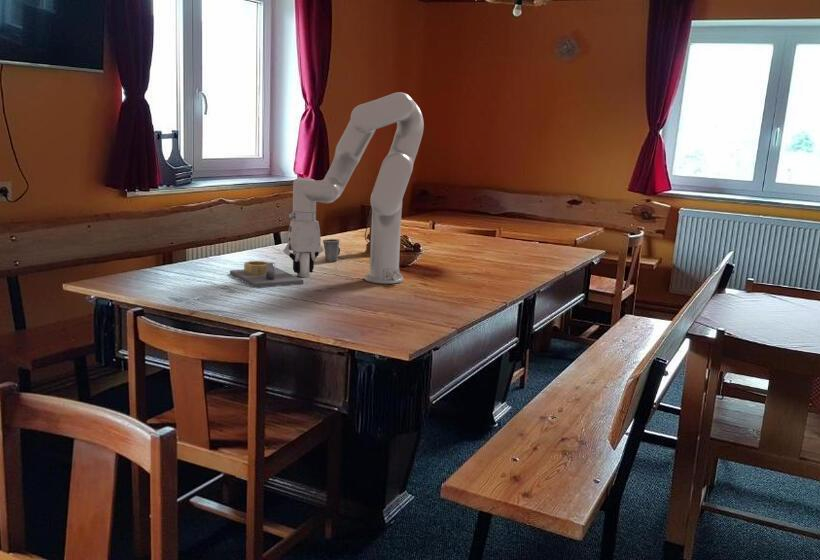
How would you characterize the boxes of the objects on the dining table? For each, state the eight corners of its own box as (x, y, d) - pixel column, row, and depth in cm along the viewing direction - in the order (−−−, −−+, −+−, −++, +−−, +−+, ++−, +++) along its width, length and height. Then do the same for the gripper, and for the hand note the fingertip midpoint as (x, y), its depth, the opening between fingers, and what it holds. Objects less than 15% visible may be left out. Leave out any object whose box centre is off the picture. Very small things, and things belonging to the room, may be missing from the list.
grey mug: (343, 257, 283) (344, 237, 281) (336, 263, 270) (337, 241, 269) (327, 256, 283) (328, 236, 282) (320, 262, 271) (320, 240, 269)
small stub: (275, 279, 232) (275, 263, 231) (267, 280, 231) (268, 264, 230) (272, 277, 234) (272, 262, 233) (264, 278, 233) (264, 262, 232)
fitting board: (303, 283, 234) (303, 280, 233) (254, 287, 225) (254, 283, 225) (276, 270, 252) (276, 267, 251) (230, 274, 243) (230, 270, 243)
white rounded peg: (311, 276, 245) (311, 252, 243) (300, 277, 243) (300, 253, 241) (306, 274, 248) (306, 250, 246) (295, 275, 246) (295, 251, 244)
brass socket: (273, 273, 240) (273, 264, 240) (249, 275, 236) (249, 266, 236) (264, 269, 247) (264, 260, 246) (241, 270, 243) (241, 261, 242)
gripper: (284, 218, 234) (284, 276, 237) (332, 217, 243) (331, 272, 246) (275, 216, 240) (275, 271, 244) (322, 214, 249) (321, 268, 253)
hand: (303, 271), depth 245 cm, fingers closed on white rounded peg, 4 cm apart
